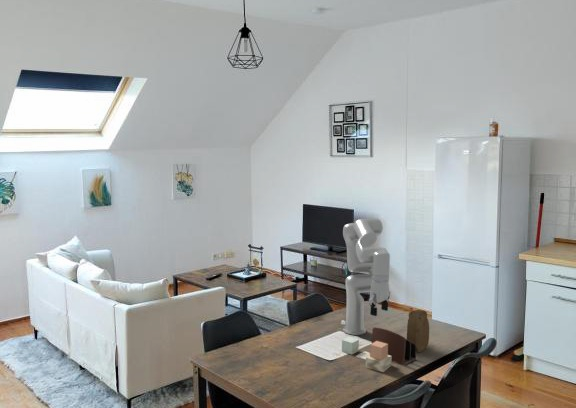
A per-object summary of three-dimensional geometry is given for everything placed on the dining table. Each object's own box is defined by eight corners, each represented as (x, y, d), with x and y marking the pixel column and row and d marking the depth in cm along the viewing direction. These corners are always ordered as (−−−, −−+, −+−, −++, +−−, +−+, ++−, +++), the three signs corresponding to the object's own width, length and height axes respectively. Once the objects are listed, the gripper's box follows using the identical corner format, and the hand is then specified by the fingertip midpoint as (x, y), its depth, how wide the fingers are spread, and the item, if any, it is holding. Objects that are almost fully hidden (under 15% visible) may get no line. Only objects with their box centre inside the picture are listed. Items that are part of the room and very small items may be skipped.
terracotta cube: (369, 356, 250) (370, 344, 249) (376, 353, 255) (376, 340, 254) (381, 360, 246) (381, 347, 245) (387, 356, 251) (388, 343, 250)
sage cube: (341, 351, 268) (342, 339, 267) (348, 348, 273) (348, 336, 272) (351, 354, 264) (352, 343, 263) (358, 351, 269) (358, 339, 268)
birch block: (365, 367, 250) (365, 357, 249) (373, 361, 257) (374, 351, 256) (383, 372, 245) (383, 362, 244) (391, 366, 252) (391, 355, 251)
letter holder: (403, 365, 252) (405, 336, 251) (370, 353, 267) (371, 325, 265) (416, 360, 259) (417, 331, 257) (383, 347, 274) (384, 321, 272)
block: (415, 354, 266) (417, 315, 263) (404, 349, 272) (406, 310, 269) (430, 349, 272) (432, 311, 269) (419, 344, 278) (420, 307, 276)
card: (355, 356, 262) (355, 355, 261) (364, 352, 268) (364, 351, 267) (369, 361, 256) (369, 360, 256) (378, 356, 262) (378, 355, 262)
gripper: (383, 272, 261) (381, 306, 263) (363, 279, 248) (362, 315, 250) (397, 275, 256) (395, 310, 258) (377, 283, 243) (376, 319, 245)
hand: (379, 312), depth 254 cm, fingers open, 9 cm apart
